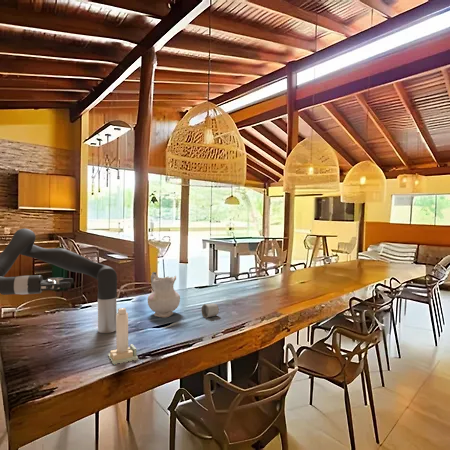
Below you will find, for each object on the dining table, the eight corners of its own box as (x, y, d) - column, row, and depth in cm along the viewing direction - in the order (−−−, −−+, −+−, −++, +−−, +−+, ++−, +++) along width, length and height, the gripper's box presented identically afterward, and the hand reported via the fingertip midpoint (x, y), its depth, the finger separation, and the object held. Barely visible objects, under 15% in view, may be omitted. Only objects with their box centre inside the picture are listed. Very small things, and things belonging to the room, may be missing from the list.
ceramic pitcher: (138, 317, 209) (135, 276, 206) (158, 306, 226) (156, 268, 223) (167, 322, 199) (165, 280, 196) (186, 311, 216) (185, 271, 213)
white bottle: (115, 350, 150) (114, 308, 149) (126, 347, 152) (126, 306, 151) (118, 354, 146) (117, 311, 145) (129, 351, 148) (129, 309, 147)
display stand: (108, 356, 151) (107, 346, 151) (131, 351, 156) (131, 342, 156) (113, 364, 142) (113, 355, 142) (137, 359, 147) (137, 350, 147)
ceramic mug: (219, 316, 207) (219, 303, 207) (208, 319, 202) (208, 305, 202) (209, 312, 216) (208, 300, 215) (198, 315, 210) (197, 302, 210)
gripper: (33, 290, 151) (74, 287, 155) (24, 298, 137) (69, 295, 142) (33, 272, 151) (73, 271, 155) (23, 279, 137) (68, 277, 141)
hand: (71, 282), depth 148 cm, fingers open, 8 cm apart
